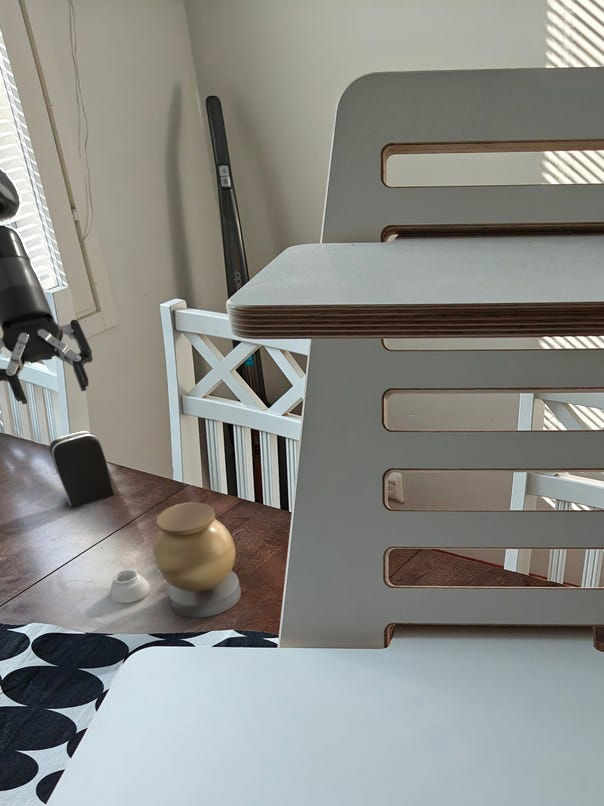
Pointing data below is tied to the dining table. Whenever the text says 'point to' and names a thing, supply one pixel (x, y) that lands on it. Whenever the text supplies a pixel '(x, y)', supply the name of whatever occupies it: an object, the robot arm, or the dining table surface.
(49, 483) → the dining table surface
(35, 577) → the dining table surface
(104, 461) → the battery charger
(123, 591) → the lidless jar
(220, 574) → the lidded jar
